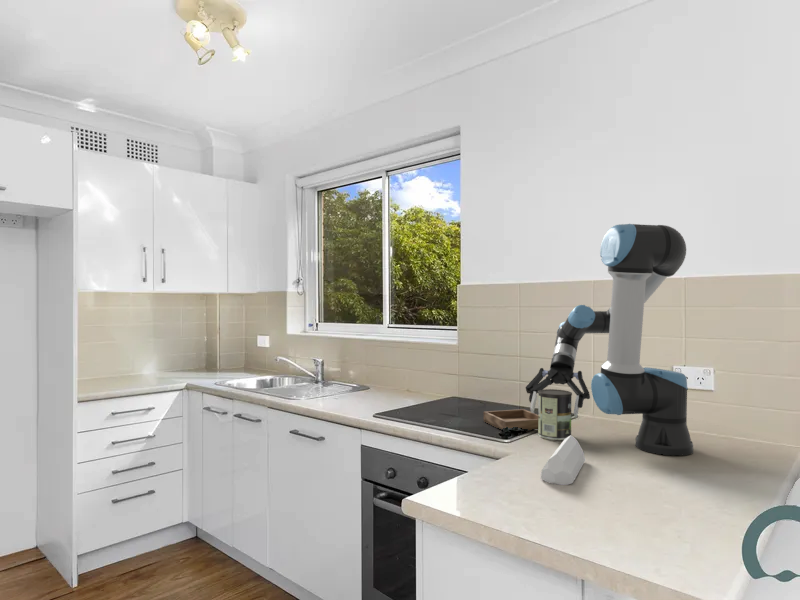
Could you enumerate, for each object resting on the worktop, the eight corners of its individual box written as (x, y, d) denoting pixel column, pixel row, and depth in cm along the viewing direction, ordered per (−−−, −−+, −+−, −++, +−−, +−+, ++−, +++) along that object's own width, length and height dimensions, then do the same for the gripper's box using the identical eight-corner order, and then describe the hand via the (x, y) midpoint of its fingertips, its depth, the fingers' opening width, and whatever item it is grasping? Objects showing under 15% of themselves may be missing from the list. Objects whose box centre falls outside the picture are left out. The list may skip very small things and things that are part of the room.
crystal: (551, 442, 151) (530, 466, 130) (574, 432, 148) (557, 455, 127) (564, 467, 150) (546, 495, 128) (588, 457, 147) (573, 485, 125)
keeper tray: (548, 429, 180) (548, 418, 180) (505, 432, 176) (505, 421, 176) (523, 418, 196) (523, 409, 196) (483, 421, 191) (483, 411, 191)
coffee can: (569, 433, 176) (570, 389, 176) (573, 441, 166) (573, 395, 166) (536, 431, 178) (537, 388, 178) (538, 439, 168) (538, 394, 168)
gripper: (603, 369, 181) (595, 424, 168) (528, 364, 193) (516, 415, 180) (601, 355, 177) (593, 410, 163) (525, 351, 188) (512, 401, 175)
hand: (553, 412), depth 172 cm, fingers open, 13 cm apart
